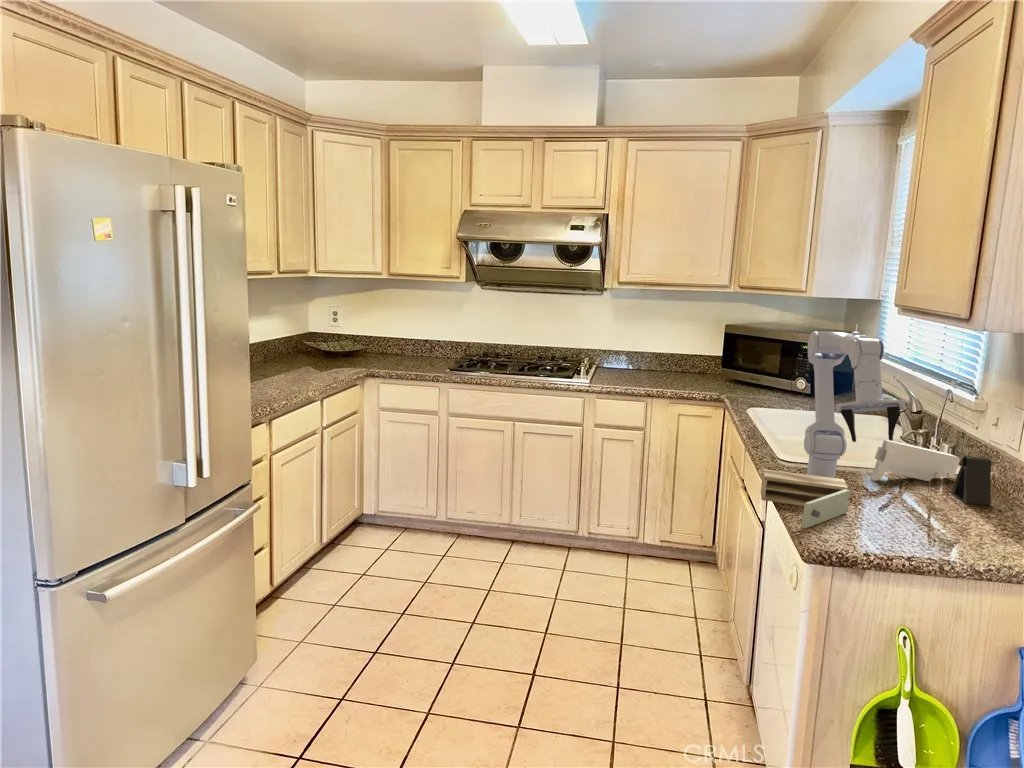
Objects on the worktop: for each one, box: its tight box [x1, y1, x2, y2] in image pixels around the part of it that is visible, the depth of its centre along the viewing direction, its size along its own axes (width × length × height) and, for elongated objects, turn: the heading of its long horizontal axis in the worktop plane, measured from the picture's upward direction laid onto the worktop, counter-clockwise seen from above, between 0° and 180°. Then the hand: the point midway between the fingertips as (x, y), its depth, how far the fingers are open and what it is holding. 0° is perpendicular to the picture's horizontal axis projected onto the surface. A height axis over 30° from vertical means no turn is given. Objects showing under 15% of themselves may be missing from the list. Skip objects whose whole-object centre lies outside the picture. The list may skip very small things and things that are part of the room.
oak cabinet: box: [760, 468, 849, 507], centre depth 176 cm, size 7×20×6 cm, turn 71°
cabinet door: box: [801, 489, 851, 529], centre depth 163 cm, size 2×20×6 cm, turn 127°
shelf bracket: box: [870, 439, 961, 482], centre depth 199 cm, size 6×25×13 cm, turn 99°
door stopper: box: [950, 455, 992, 507], centre depth 183 cm, size 9×6×12 cm, turn 170°
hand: (872, 440), depth 157 cm, fingers open, 7 cm apart
